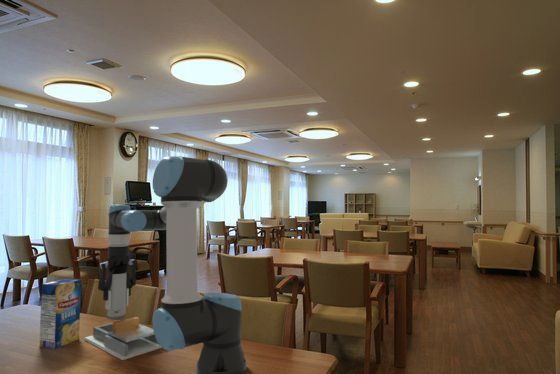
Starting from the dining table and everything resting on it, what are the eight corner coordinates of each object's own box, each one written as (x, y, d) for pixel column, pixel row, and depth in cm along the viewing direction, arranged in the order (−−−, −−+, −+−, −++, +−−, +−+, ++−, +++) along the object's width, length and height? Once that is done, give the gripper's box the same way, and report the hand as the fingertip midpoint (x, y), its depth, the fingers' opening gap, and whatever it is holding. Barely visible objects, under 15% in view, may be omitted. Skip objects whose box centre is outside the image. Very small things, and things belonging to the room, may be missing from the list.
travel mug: (119, 320, 140) (121, 265, 141) (103, 319, 141) (105, 264, 142) (129, 315, 146) (131, 263, 147) (114, 314, 147) (115, 262, 148)
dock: (165, 346, 137) (165, 333, 137) (122, 360, 124) (122, 346, 124) (125, 329, 154) (125, 318, 155) (84, 340, 142) (84, 327, 142)
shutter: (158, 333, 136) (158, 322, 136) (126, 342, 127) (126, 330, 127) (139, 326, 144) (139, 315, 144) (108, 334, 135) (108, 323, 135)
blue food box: (39, 346, 135) (41, 283, 136) (64, 336, 146) (66, 278, 147) (54, 349, 133) (56, 285, 134) (79, 338, 144) (81, 279, 145)
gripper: (137, 242, 155) (135, 300, 153) (88, 246, 140) (86, 310, 139) (147, 244, 150) (145, 304, 149) (97, 248, 135) (95, 314, 134)
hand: (116, 307), depth 144 cm, fingers closed on travel mug, 6 cm apart
